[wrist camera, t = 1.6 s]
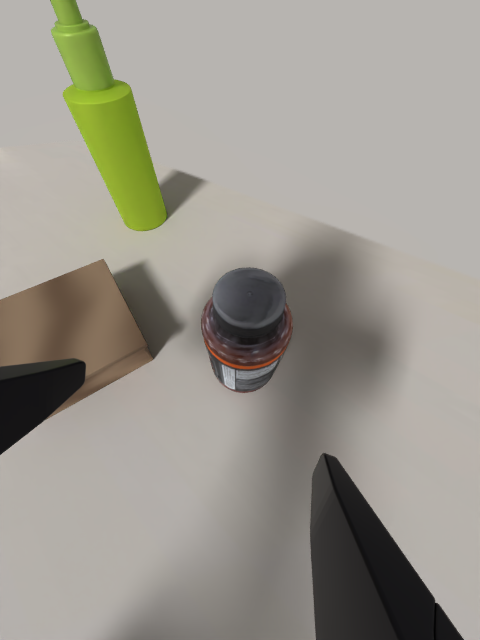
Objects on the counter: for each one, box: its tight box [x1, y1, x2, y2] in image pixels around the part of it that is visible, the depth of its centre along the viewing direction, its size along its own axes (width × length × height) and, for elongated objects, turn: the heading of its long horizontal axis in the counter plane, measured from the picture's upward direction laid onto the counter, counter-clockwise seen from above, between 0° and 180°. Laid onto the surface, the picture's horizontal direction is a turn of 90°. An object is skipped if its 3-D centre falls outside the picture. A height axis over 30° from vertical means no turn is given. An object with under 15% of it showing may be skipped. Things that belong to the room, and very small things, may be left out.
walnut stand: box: [0, 259, 153, 419], centre depth 21 cm, size 11×11×4 cm
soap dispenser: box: [50, 0, 167, 231], centre depth 24 cm, size 6×7×20 cm
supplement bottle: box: [201, 268, 293, 393], centre depth 17 cm, size 6×6×11 cm
